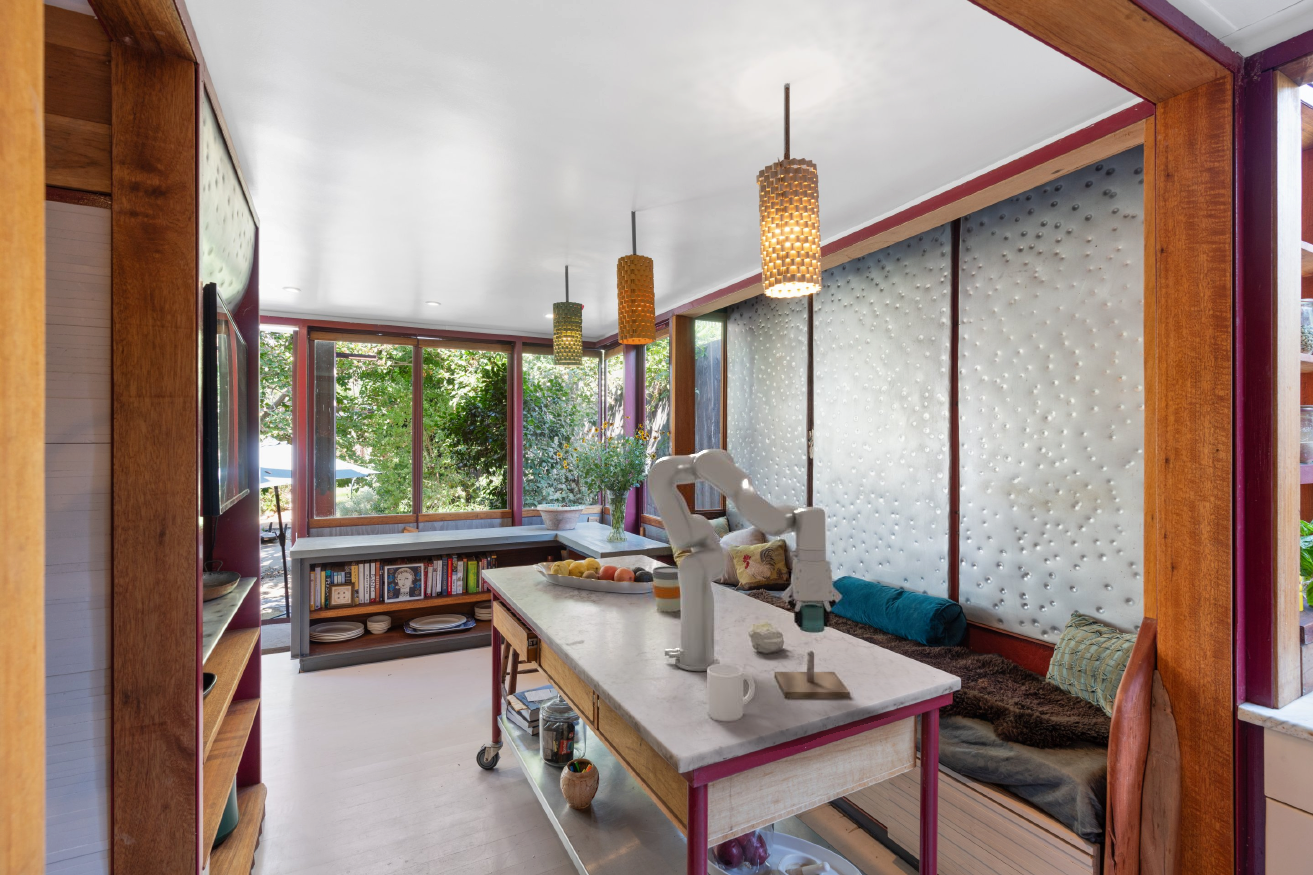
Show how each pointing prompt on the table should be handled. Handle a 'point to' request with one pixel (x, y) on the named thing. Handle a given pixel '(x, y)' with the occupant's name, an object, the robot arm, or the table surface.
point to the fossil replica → (766, 638)
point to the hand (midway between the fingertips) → (811, 625)
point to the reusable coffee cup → (666, 588)
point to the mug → (727, 692)
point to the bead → (812, 617)
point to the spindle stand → (811, 683)
